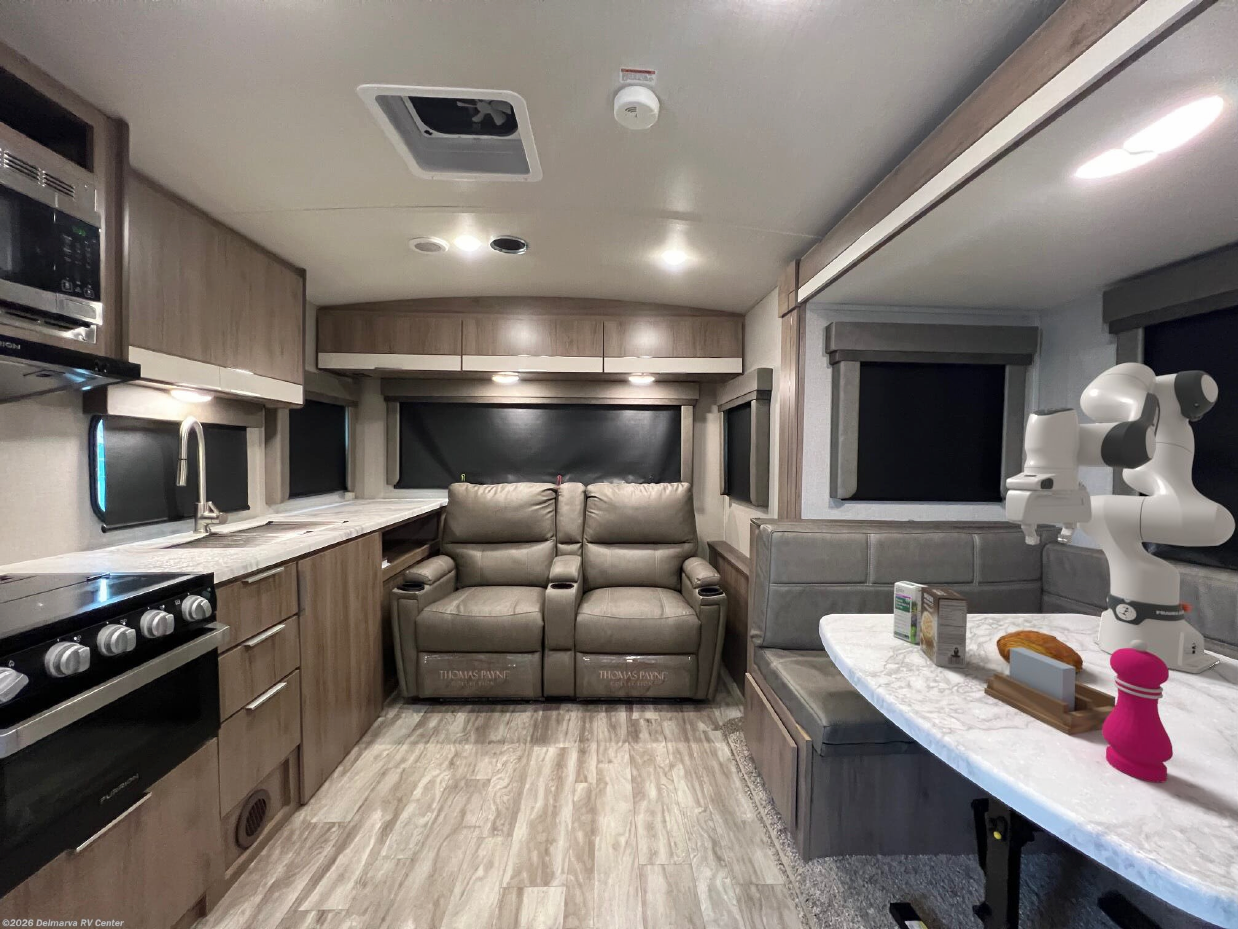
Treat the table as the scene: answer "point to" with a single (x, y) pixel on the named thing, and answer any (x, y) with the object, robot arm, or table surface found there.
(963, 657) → the coffee box
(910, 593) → the syrup box
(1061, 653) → the croissant
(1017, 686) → the rack
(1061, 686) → the tile
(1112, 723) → the pepper mill
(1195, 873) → the table surface
